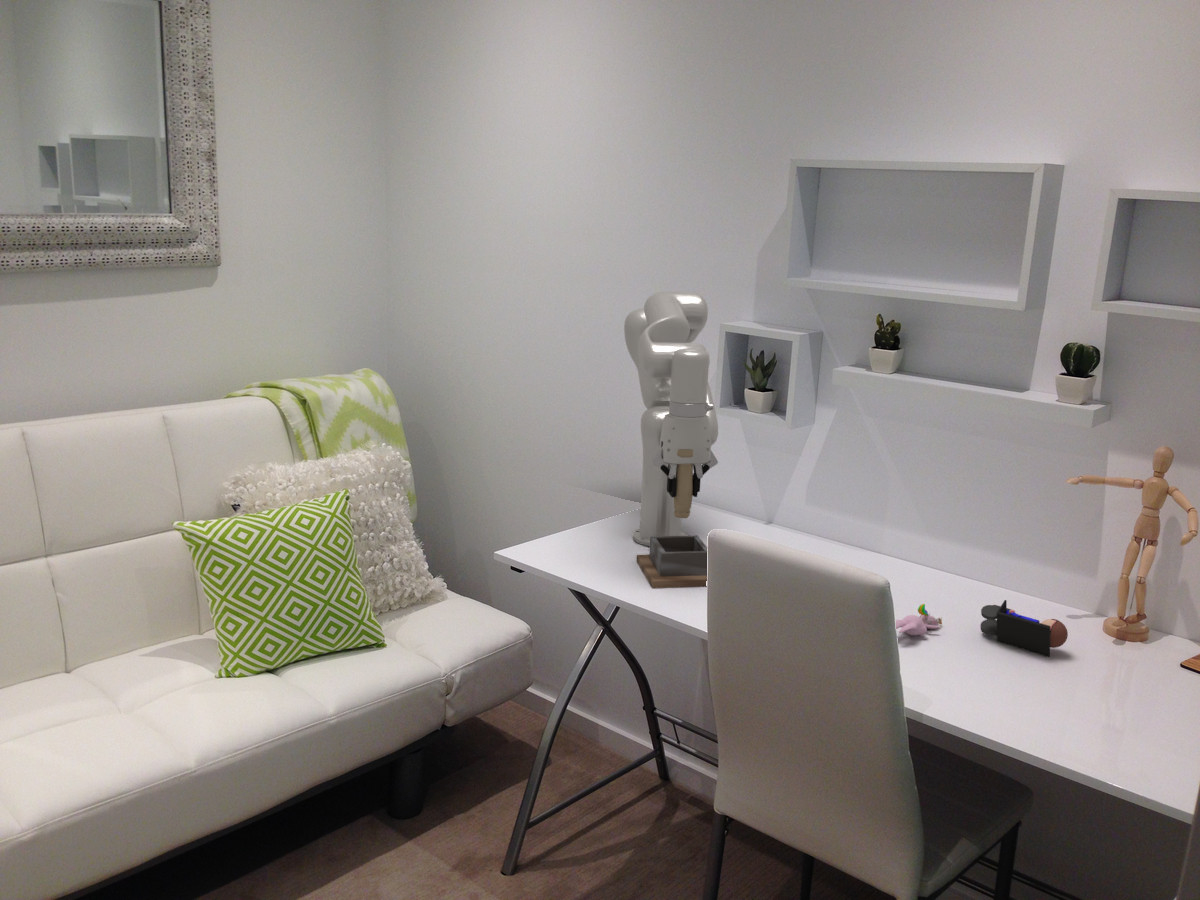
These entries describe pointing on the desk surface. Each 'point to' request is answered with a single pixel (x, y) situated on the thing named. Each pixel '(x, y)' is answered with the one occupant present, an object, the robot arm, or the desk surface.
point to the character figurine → (1022, 630)
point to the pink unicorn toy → (918, 623)
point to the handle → (683, 486)
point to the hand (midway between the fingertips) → (683, 494)
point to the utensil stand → (675, 562)
